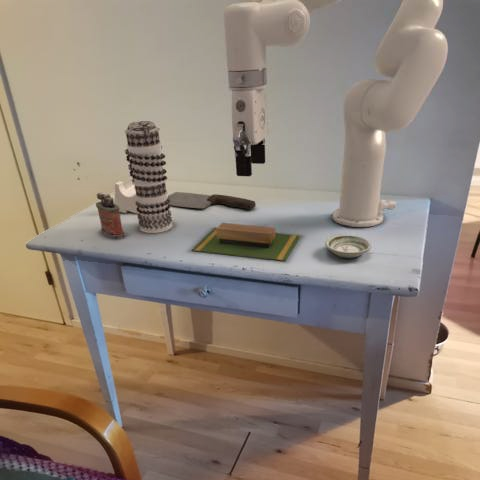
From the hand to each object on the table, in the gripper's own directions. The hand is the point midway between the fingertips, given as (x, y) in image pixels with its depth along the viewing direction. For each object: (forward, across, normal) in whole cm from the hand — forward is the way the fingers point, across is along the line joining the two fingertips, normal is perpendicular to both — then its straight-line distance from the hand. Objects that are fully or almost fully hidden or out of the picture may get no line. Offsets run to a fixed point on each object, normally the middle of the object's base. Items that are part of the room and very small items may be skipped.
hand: (251, 169), depth 97 cm
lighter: (+16, -4, +36) cm, 40 cm away
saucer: (+17, -2, -22) cm, 28 cm away
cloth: (+17, -2, +1) cm, 17 cm away
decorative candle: (+16, +3, +28) cm, 32 cm away
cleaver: (+17, +22, +21) cm, 35 cm away
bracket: (+16, +17, +41) cm, 47 cm away
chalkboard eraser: (+16, -2, +1) cm, 16 cm away
